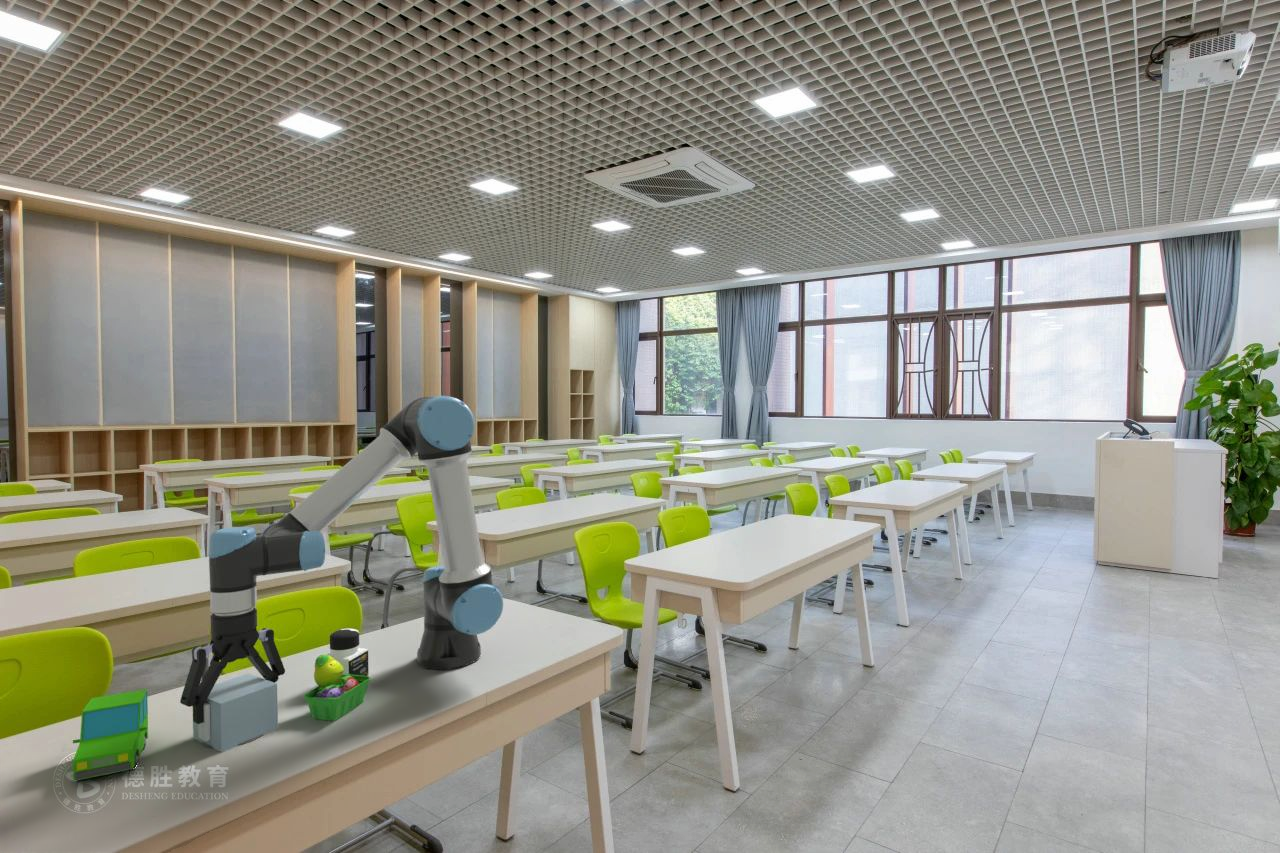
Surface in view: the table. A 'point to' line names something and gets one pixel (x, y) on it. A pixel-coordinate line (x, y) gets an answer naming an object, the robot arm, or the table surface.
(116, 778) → the table surface
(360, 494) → the robot arm
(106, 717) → the toy car
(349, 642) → the medicine bottle
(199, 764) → the table surface
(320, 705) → the fruit basket
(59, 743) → the table surface
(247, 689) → the pale blue cube
